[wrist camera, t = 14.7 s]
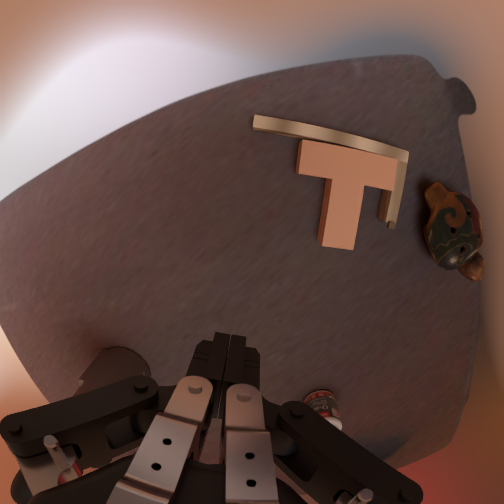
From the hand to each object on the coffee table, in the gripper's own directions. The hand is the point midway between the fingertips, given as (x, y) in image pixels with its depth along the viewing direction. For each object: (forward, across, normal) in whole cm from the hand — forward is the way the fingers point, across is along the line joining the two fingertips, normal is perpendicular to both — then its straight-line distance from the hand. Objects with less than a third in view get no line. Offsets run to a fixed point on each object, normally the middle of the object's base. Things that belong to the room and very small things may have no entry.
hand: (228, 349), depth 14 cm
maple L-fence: (+25, -8, -10) cm, 28 cm away
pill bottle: (+26, -16, +26) cm, 40 cm away
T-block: (+25, -11, -7) cm, 28 cm away
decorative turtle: (+25, -28, -6) cm, 38 cm away
